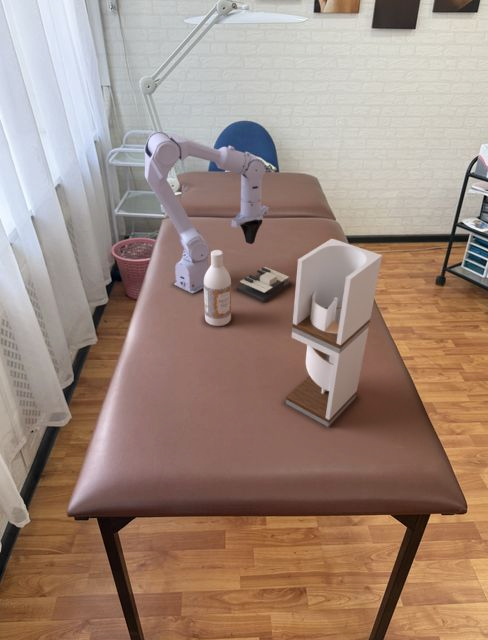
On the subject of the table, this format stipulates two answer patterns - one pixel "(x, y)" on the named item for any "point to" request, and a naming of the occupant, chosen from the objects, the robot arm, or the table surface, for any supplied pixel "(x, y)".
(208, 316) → the bath foam
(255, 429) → the table surface
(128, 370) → the table surface
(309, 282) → the white tower
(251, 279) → the piano keys trim
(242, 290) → the toy piano
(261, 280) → the square cream block
